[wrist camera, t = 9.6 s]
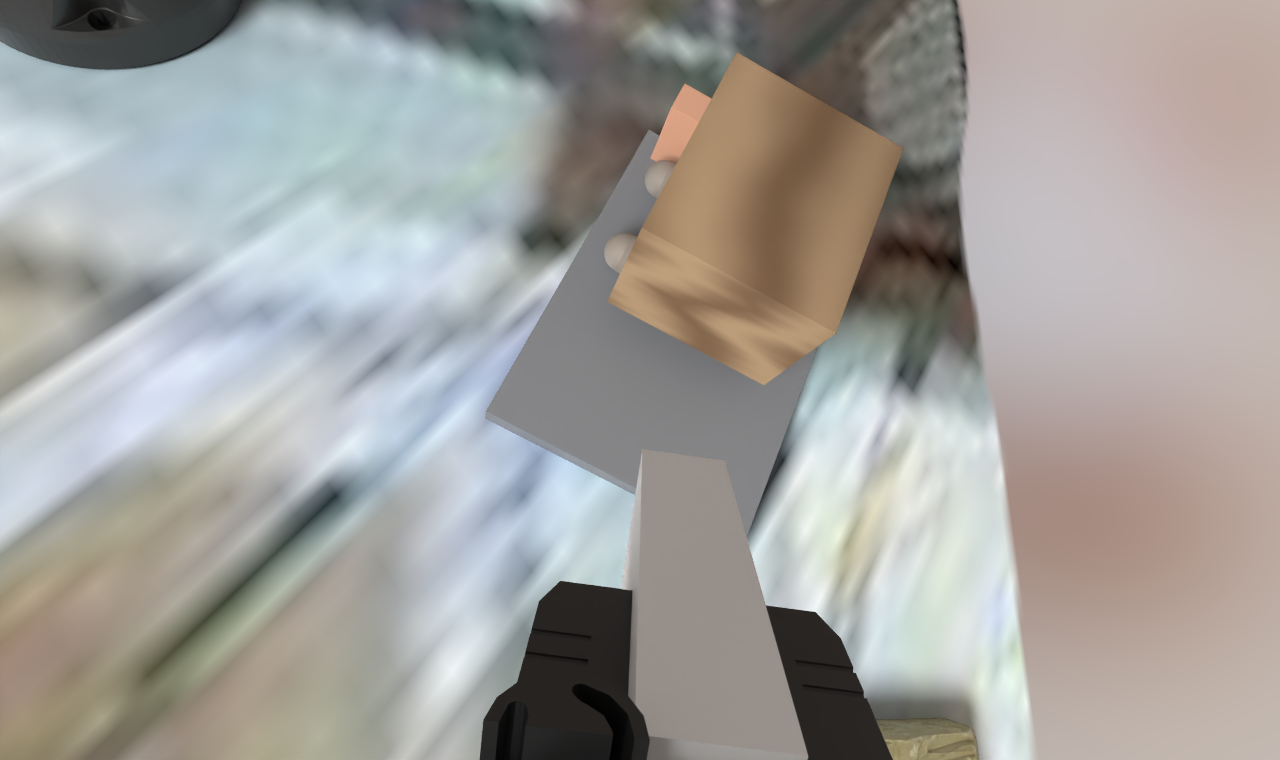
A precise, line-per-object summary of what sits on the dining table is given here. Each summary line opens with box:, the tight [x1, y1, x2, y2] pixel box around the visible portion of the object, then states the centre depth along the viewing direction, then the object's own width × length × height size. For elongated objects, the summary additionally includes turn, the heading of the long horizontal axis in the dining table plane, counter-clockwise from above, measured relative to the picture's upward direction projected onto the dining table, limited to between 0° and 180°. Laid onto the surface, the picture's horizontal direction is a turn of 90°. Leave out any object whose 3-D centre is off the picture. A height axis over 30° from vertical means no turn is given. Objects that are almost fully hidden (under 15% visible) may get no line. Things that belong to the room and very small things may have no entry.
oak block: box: [604, 53, 903, 385], centre depth 37 cm, size 13×12×10 cm
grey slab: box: [485, 84, 886, 537], centre depth 39 cm, size 16×22×6 cm
